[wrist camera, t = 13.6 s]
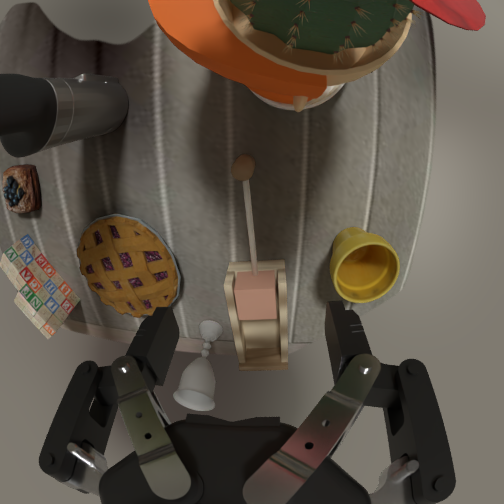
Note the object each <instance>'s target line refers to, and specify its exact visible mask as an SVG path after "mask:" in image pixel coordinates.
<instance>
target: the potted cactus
mask: <svg viewBox="0 0 504 504" xmlns="http://www.w3.org/2000/svg"><path fill="white" fill-rule="evenodd" d="M148 2H149V5H150V7H151V10H152V12H153V15H154V18H155V20H156V22H157V24H158V26H159V27H160V29H161V30H162V31H163V32H164V34H165V35H166V36H167V37H168V38H169V40H170V41H171V42H172V43H173V44H174V45H175V46H176V47H177V48H178V49H179V50H181V51H182V52H183V53H185V54H186V55H187V56H188V57H190V58H191V59H192V60H194V61H195V62H196V63H198V64H200V65H202V66H204V67H206V68H208V69H210V70H212V71H213V72H215V73H217V74H219V75H221V76H223V77H225V78H227V79H230V80H233V81H236V82H239V83H242V84H244V85H246V86H247V87H248V88H249V89H250V90H251V91H252V92H253V93H254V94H255V95H256V96H257V97H258V98H259V99H261V100H262V101H264V102H265V103H267V104H269V105H271V106H274V107H276V108H280V109H284V110H295V111H296V112H300V111H302V110H303V109H307V108H312V107H315V106H317V105H320V104H322V103H324V102H325V101H327V100H329V99H330V98H331V97H333V96H334V95H335V94H336V93H337V92H338V91H339V90H340V89H341V88H342V86H343V85H344V84H345V83H347V82H351V81H355V80H357V79H359V78H361V77H363V76H365V75H367V74H369V73H372V72H373V71H375V70H376V69H378V68H379V67H380V66H381V65H383V64H384V63H385V62H386V61H387V60H389V59H390V58H391V57H392V56H393V55H394V54H395V53H396V52H397V50H398V49H399V47H400V46H401V44H402V43H403V42H404V40H405V39H406V37H407V34H408V31H409V28H410V26H411V25H412V24H411V18H412V13H413V14H414V15H415V13H417V14H419V13H418V12H419V11H416V12H415V10H412V9H413V6H414V5H416V6H417V7H419V8H421V9H423V10H425V11H426V12H428V13H430V14H432V15H433V16H435V17H437V18H439V19H441V20H442V21H444V22H446V23H447V24H450V25H454V26H456V27H459V28H462V29H465V30H475V31H478V30H479V29H480V28H481V27H483V26H484V24H485V17H486V16H485V14H484V12H483V10H482V8H481V6H480V4H479V3H478V2H477V1H476V0H148ZM414 12H415V13H414ZM422 13H423V12H422ZM417 14H416V16H417V17H418V15H417ZM420 15H421V13H420ZM423 16H424V15H423ZM419 17H420V16H419ZM419 17H418V18H419ZM420 18H421V17H420ZM420 18H419V19H420ZM412 23H413V20H412ZM414 23H415V21H414ZM415 25H416V24H415ZM412 26H413V25H412Z"/></svg>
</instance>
